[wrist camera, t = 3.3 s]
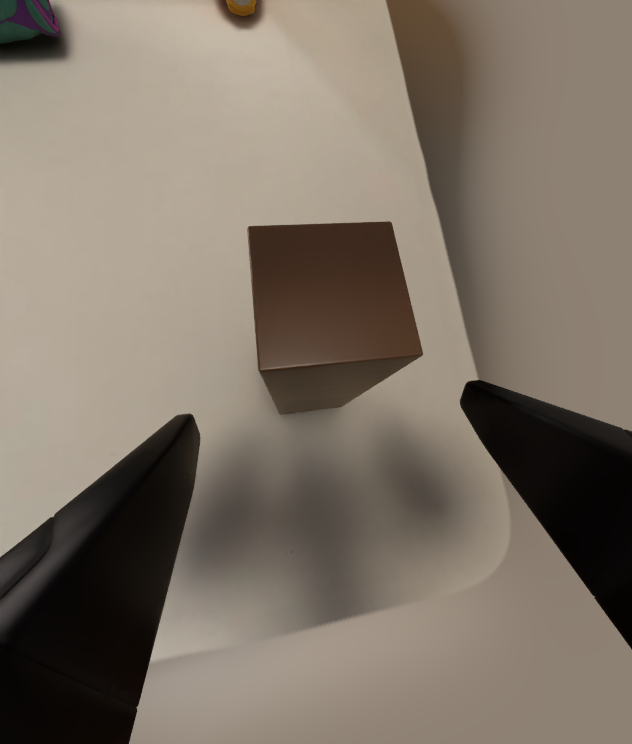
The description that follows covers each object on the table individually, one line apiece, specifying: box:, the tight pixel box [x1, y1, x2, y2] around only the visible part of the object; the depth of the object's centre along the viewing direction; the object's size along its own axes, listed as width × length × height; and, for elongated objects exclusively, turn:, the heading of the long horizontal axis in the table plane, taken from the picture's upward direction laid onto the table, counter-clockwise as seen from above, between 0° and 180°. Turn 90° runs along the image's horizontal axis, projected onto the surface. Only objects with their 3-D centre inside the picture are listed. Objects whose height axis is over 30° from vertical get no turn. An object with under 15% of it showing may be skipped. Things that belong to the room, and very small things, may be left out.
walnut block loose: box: [247, 222, 423, 414], centre depth 13 cm, size 4×4×12 cm
